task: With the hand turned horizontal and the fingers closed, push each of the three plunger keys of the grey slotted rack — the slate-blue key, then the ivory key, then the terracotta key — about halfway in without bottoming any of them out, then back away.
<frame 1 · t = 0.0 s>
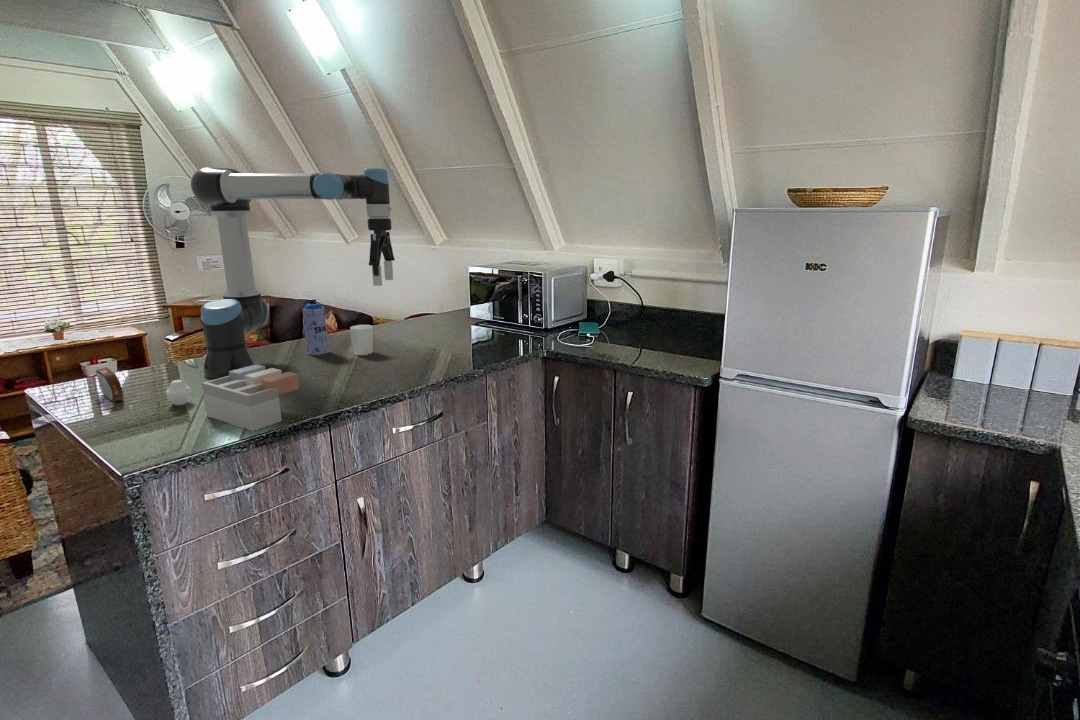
hand: (383, 282, 198), 28 cm above the counter, tool pointing down, fingers open, 13 cm apart
aerosol can: (318, 353, 218), on the counter
tin: (112, 399, 169), on the counter
slate key: (248, 375, 160), point 9 cm above the counter, slide at 0.0 cm
ivory key: (264, 379, 156), point 9 cm above the counter, slide at 0.0 cm
muffin: (180, 404, 165), on the counter
grey slotted rack: (258, 414, 156), on the counter
white cup: (363, 353, 218), on the counter
terracotta key: (280, 384, 153), point 9 cm above the counter, slide at 0.0 cm
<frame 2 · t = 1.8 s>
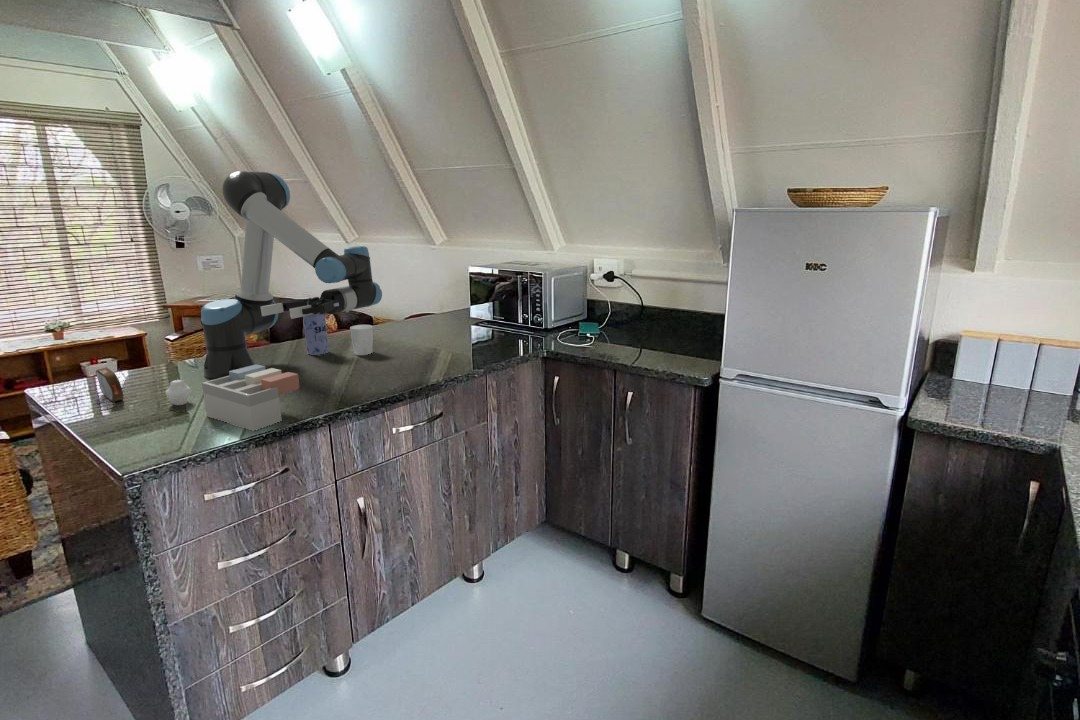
hand: (275, 312, 165), 24 cm above the counter, tool horizontal, fingers open, 13 cm apart
nothing on the counter moved.
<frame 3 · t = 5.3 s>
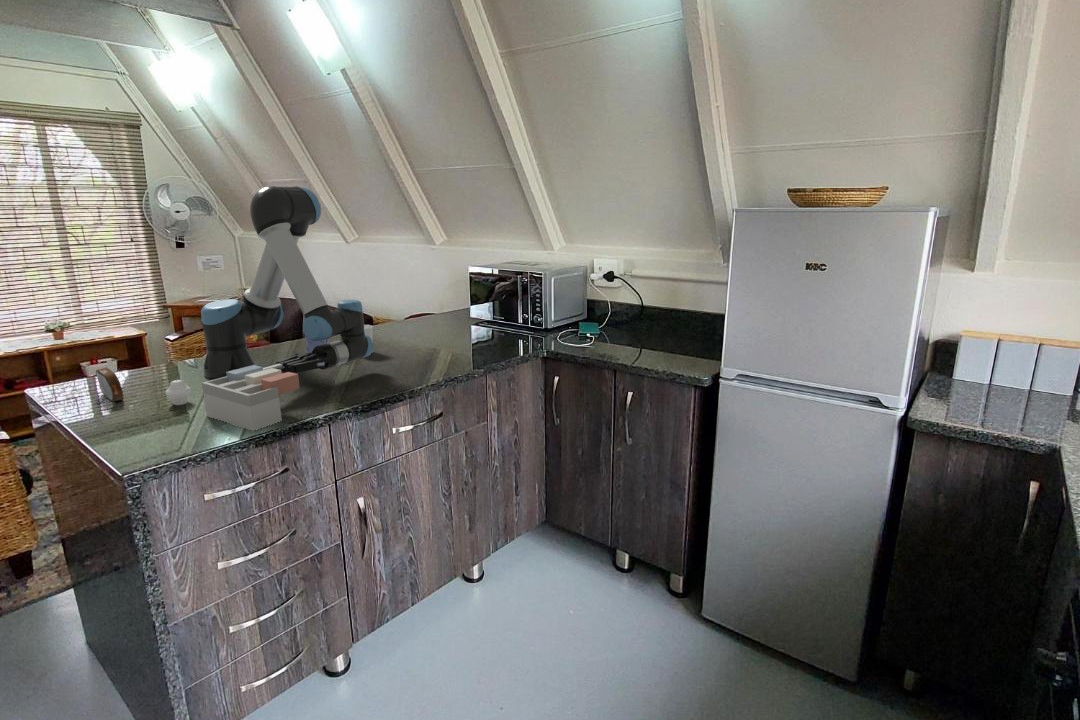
hand: (260, 374, 163), 8 cm above the counter, tool horizontal, fingers closed
slate key: (245, 376, 159), point 9 cm above the counter, slide at 0.8 cm, touching gripper
everything else where it was.
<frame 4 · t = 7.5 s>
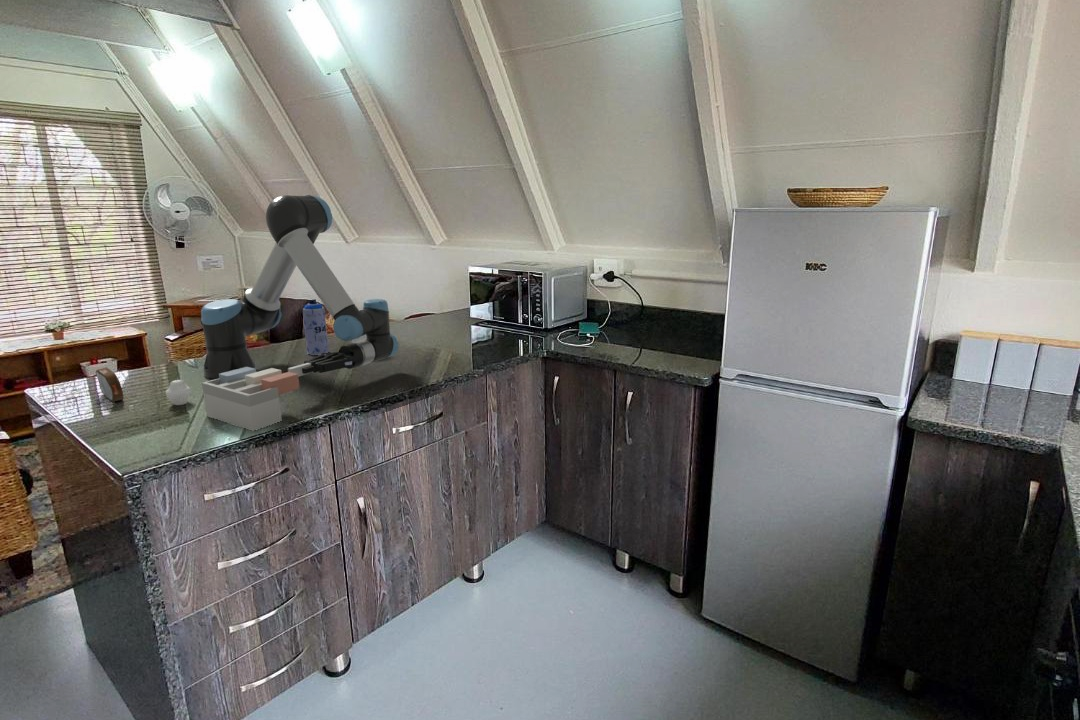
hand: (290, 373, 163), 9 cm above the counter, tool horizontal, fingers closed
slate key: (238, 378, 157), point 9 cm above the counter, slide at 2.8 cm
everything else where it was.
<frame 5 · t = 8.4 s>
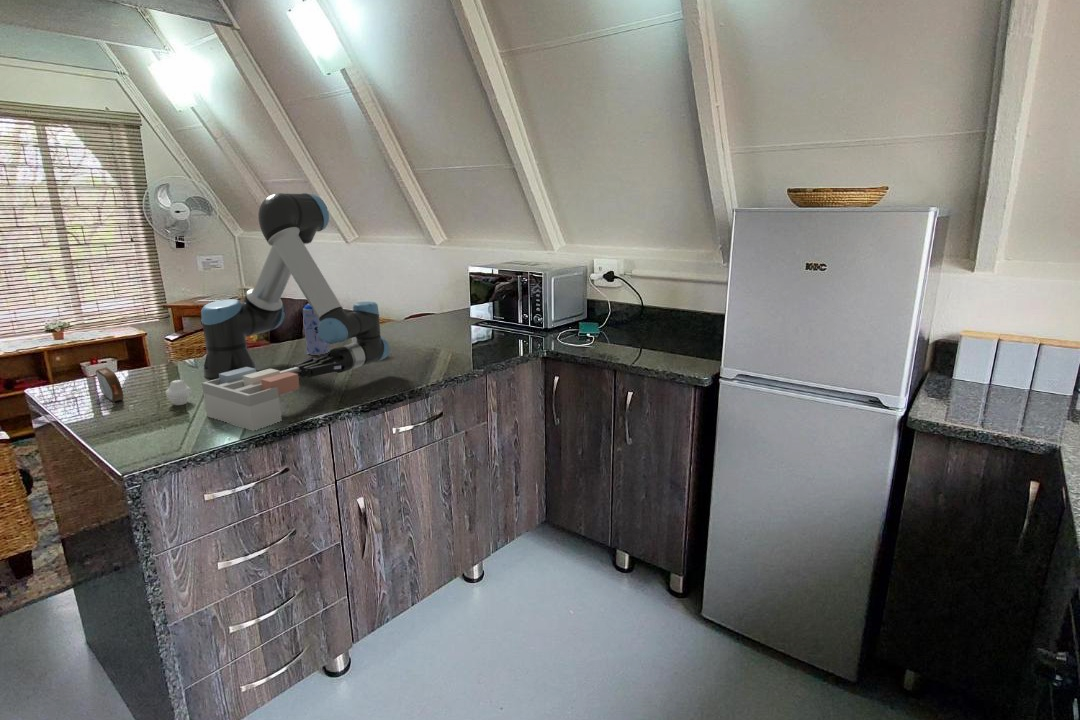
hand: (277, 377, 159), 8 cm above the counter, tool horizontal, fingers closed
ivory key: (262, 380, 156), point 9 cm above the counter, slide at 0.5 cm, touching gripper
everything else where it was.
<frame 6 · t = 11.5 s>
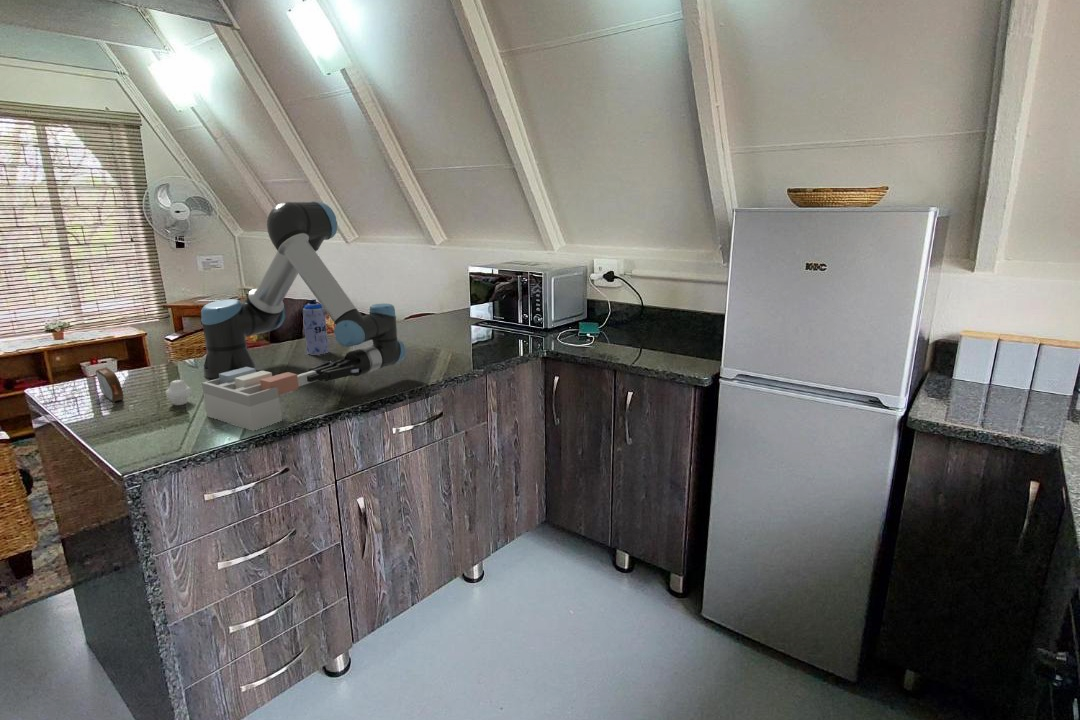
hand: (294, 381, 156), 8 cm above the counter, tool horizontal, fingers closed
ivory key: (254, 382, 154), point 9 cm above the counter, slide at 2.8 cm
terracotta key: (279, 384, 153), point 9 cm above the counter, slide at 0.3 cm, touching gripper
everything else where it was.
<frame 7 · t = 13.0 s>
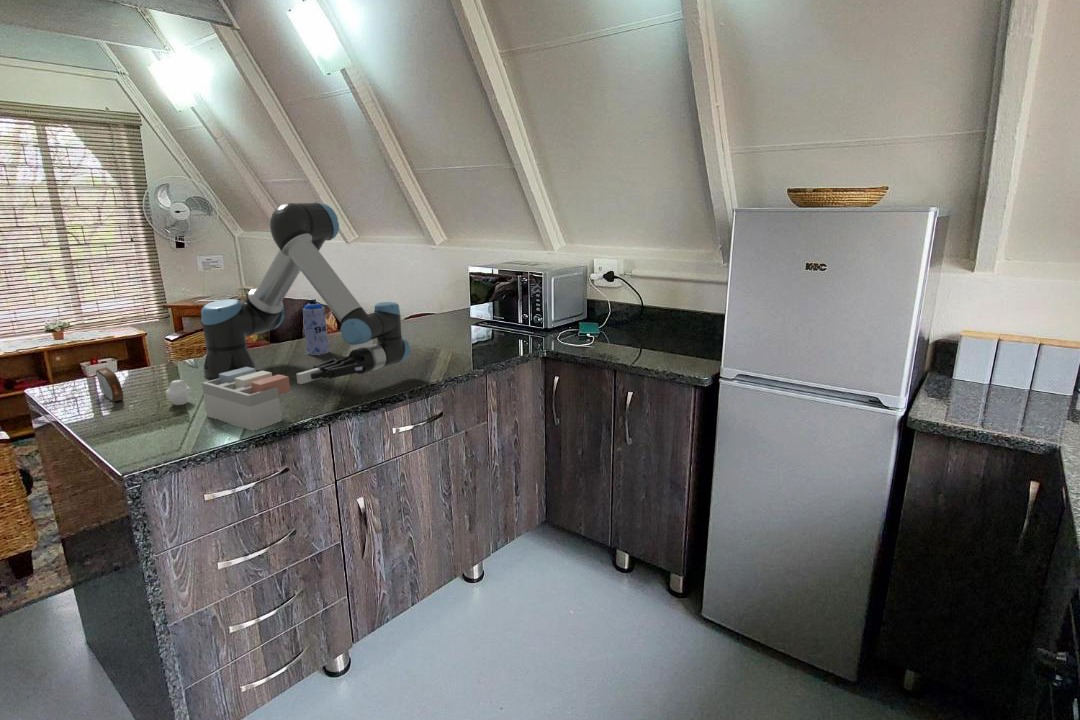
hand: (298, 378, 158), 9 cm above the counter, tool horizontal, fingers closed
terracotta key: (270, 386, 150), point 9 cm above the counter, slide at 2.8 cm
everything else where it was.
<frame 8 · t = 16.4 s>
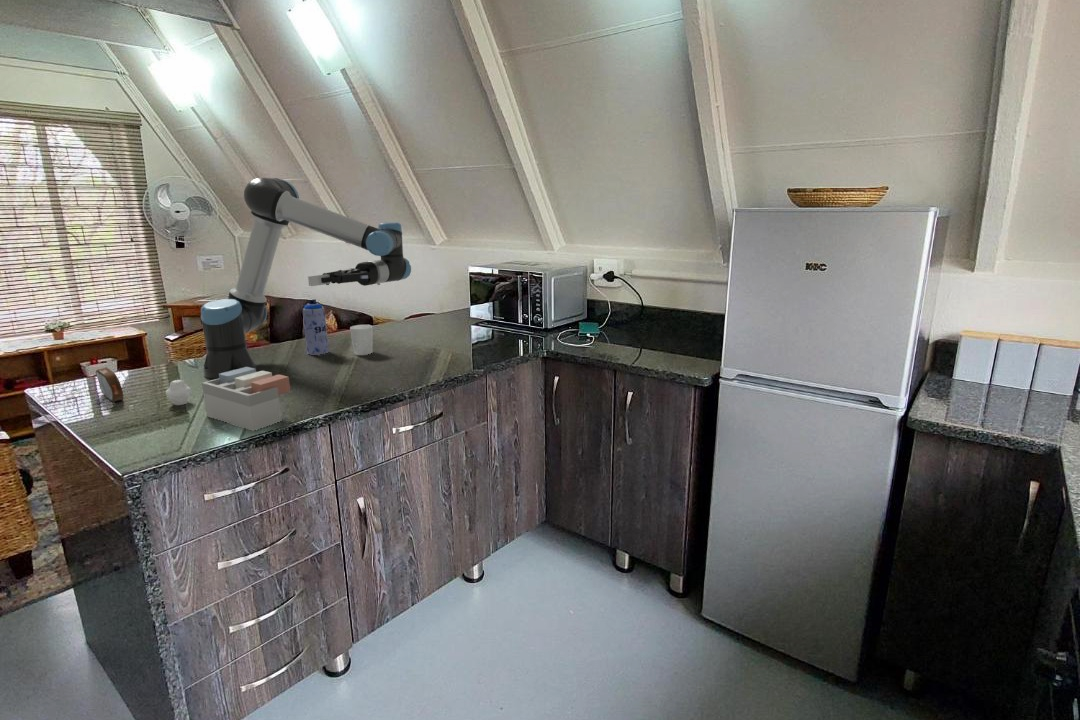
hand: (310, 281, 172), 32 cm above the counter, tool horizontal, fingers closed
nothing on the counter moved.
at the end: slate key slide at 2.8 cm; ivory key slide at 2.8 cm; terracotta key slide at 2.8 cm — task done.
